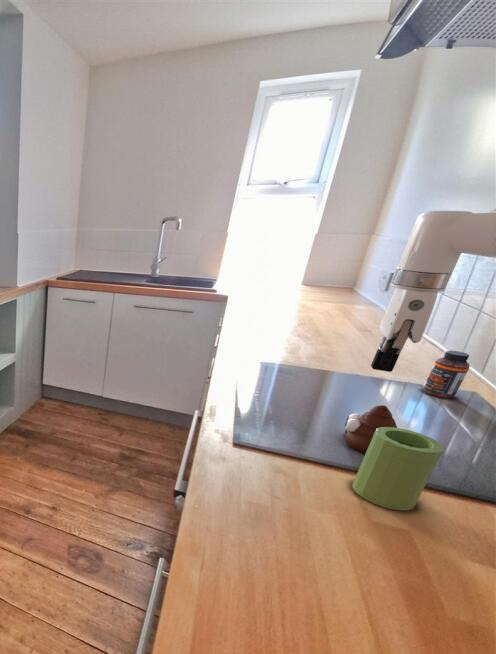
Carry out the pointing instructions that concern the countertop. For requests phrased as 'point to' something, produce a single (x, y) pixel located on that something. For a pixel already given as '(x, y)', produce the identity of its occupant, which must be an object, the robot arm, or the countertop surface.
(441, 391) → the supplement bottle
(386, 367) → the robot arm
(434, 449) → the green pipe section
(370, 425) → the poop emoji
